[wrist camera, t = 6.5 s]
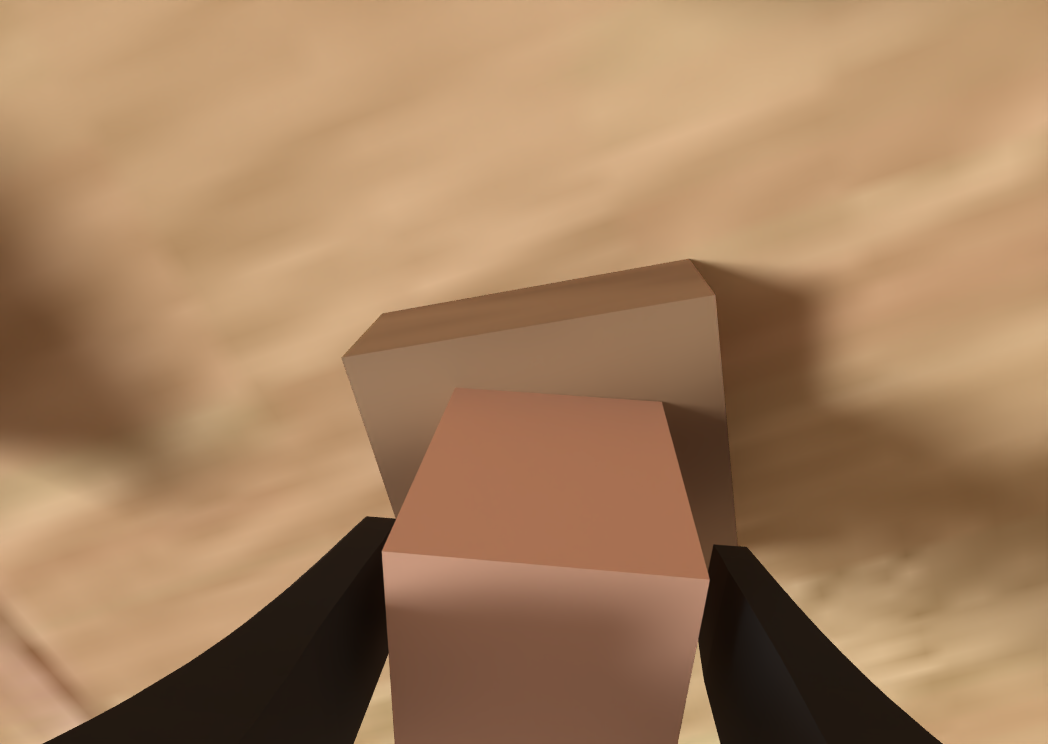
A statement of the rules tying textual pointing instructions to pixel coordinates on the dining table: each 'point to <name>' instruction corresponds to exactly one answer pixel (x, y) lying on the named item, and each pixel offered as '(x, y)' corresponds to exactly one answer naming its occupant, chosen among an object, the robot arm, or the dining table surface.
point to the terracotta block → (544, 576)
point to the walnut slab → (558, 369)
